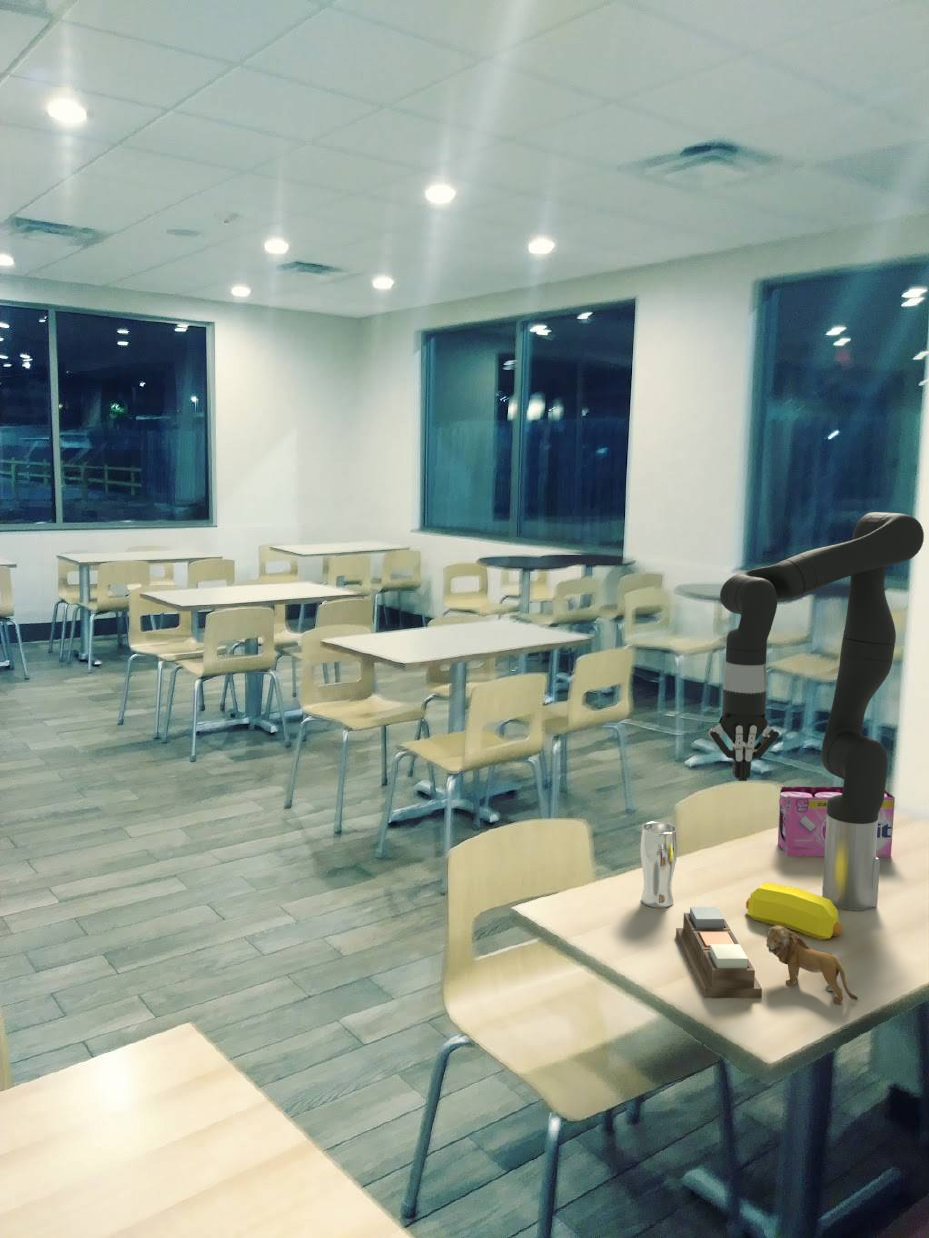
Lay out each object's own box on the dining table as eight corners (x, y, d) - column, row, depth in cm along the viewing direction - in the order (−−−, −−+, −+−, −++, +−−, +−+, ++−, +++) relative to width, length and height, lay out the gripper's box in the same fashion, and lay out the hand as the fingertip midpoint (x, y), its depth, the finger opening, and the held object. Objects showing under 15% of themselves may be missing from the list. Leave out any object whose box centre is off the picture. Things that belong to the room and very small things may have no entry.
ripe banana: (753, 905, 187) (737, 918, 181) (755, 872, 186) (738, 884, 180) (848, 932, 176) (834, 948, 170) (850, 897, 175) (836, 912, 169)
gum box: (782, 857, 211) (785, 797, 209) (770, 843, 218) (773, 785, 216) (892, 857, 211) (896, 797, 209) (876, 843, 218) (880, 785, 216)
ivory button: (738, 960, 159) (739, 944, 158) (747, 975, 154) (747, 958, 154) (709, 960, 159) (710, 944, 158) (717, 975, 154) (717, 958, 154)
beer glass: (673, 894, 192) (675, 821, 189) (677, 909, 185) (680, 834, 183) (637, 893, 192) (639, 820, 190) (640, 908, 185) (642, 833, 183)
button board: (726, 935, 174) (726, 912, 173) (761, 997, 153) (762, 970, 153) (676, 935, 174) (676, 912, 173) (704, 997, 153) (705, 970, 153)
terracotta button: (726, 947, 166) (727, 931, 165) (734, 961, 161) (735, 945, 161) (698, 947, 166) (699, 931, 165) (705, 961, 161) (706, 945, 161)
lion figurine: (759, 980, 158) (762, 929, 157) (770, 967, 163) (773, 917, 161) (853, 1009, 150) (856, 955, 149) (862, 995, 154) (865, 941, 153)
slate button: (716, 921, 173) (717, 906, 172) (723, 934, 168) (724, 918, 167) (689, 921, 173) (690, 906, 172) (696, 934, 168) (696, 918, 167)
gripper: (774, 682, 178) (770, 773, 180) (703, 682, 178) (699, 773, 180) (788, 691, 171) (784, 786, 173) (713, 691, 171) (710, 786, 173)
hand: (741, 779), depth 177 cm, fingers closed
